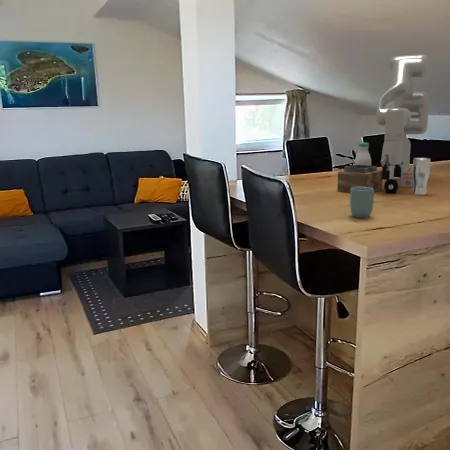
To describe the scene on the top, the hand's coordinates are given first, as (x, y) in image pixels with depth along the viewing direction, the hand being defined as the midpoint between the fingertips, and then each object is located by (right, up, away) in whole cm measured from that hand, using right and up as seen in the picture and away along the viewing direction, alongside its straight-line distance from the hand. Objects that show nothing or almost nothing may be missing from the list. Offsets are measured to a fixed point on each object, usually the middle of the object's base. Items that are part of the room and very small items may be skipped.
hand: (391, 178), depth 208 cm
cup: (-24, -17, -39) cm, 49 cm away
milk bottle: (-6, -1, +22) cm, 23 cm away
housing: (-11, -5, +9) cm, 15 cm away
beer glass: (+11, -7, -2) cm, 13 cm away
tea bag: (+12, -3, +15) cm, 20 cm away
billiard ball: (0, -6, +2) cm, 7 cm away
